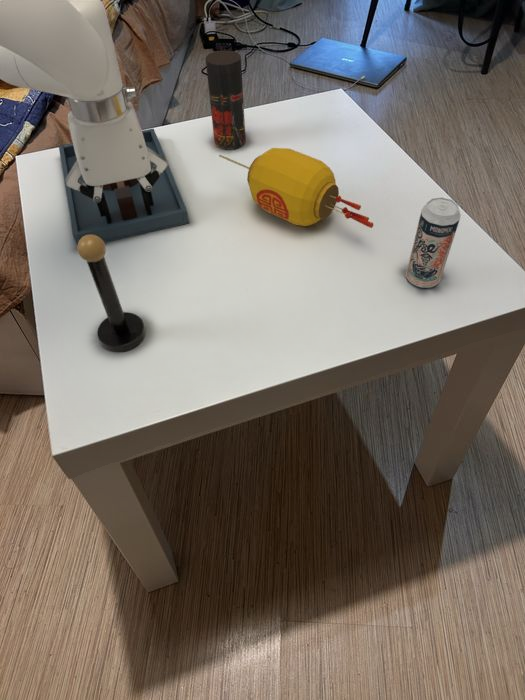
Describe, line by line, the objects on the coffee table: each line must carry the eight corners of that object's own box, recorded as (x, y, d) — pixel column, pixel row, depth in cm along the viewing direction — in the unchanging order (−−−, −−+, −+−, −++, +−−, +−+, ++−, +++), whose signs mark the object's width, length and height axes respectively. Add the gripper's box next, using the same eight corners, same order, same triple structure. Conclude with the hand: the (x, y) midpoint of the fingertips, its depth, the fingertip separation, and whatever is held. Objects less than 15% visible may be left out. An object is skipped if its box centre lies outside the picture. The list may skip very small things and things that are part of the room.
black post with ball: (102, 357, 66) (61, 261, 54) (96, 324, 70) (57, 227, 58) (149, 345, 68) (119, 248, 55) (141, 313, 71) (111, 215, 59)
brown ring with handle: (81, 162, 95) (75, 141, 92) (142, 150, 97) (137, 130, 94) (95, 226, 83) (88, 205, 80) (164, 211, 85) (160, 190, 82)
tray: (77, 248, 80) (73, 235, 79) (62, 158, 97) (58, 146, 95) (189, 223, 84) (187, 210, 82) (155, 140, 100) (153, 128, 99)
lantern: (395, 172, 72) (230, 111, 84) (356, 221, 69) (191, 150, 81) (392, 222, 80) (243, 160, 93) (357, 267, 78) (208, 197, 90)
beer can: (400, 283, 73) (417, 212, 64) (411, 263, 76) (429, 191, 67) (434, 294, 72) (457, 222, 63) (443, 273, 75) (467, 201, 65)
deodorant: (211, 137, 101) (201, 53, 89) (240, 131, 102) (235, 48, 90) (218, 152, 97) (210, 67, 85) (249, 146, 98) (245, 61, 86)
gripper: (155, 80, 75) (175, 190, 89) (31, 101, 72) (72, 212, 86) (166, 103, 70) (185, 215, 84) (34, 127, 67) (77, 239, 81)
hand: (128, 212), depth 85 cm, fingers open, 5 cm apart
